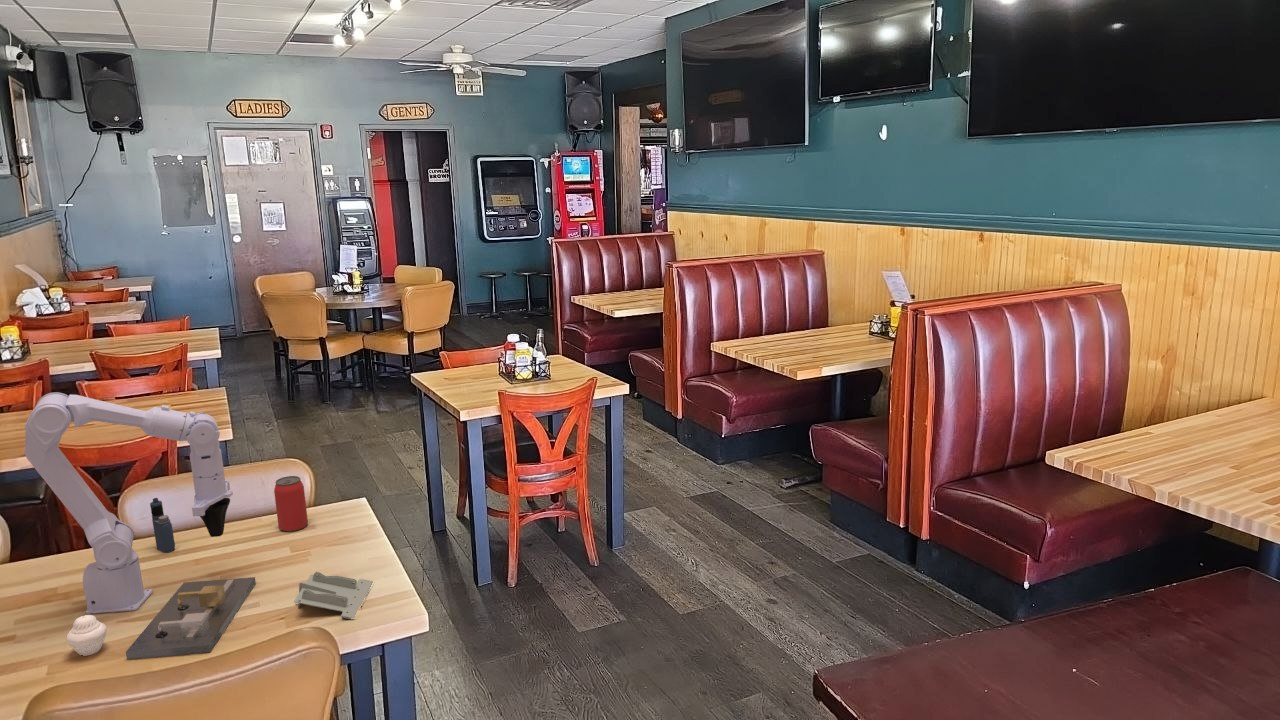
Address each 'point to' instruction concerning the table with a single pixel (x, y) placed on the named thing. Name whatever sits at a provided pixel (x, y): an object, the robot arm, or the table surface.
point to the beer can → (290, 503)
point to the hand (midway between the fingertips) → (216, 535)
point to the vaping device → (162, 527)
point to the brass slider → (205, 596)
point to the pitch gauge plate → (174, 615)
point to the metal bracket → (333, 593)
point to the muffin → (87, 635)
